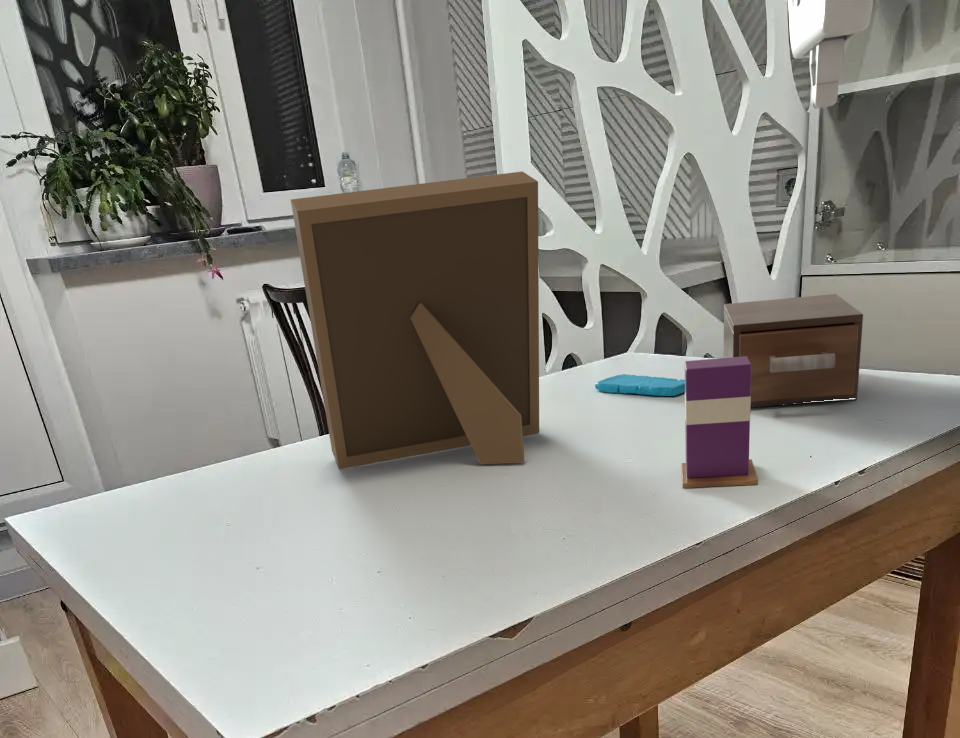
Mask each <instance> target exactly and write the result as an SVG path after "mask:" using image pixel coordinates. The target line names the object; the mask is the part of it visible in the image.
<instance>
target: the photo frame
mask: <svg viewBox="0 0 960 738" xmlns="http://www.w3.org/2000/svg"><path fill="white" fill-rule="evenodd" d="M290 204H291V210H292V217H293V223H294V229H295V235H296V241H297V248H298V253H299V259H300V260H299V261H300V266H301V271H302V277H303V283H304V291H305V296H306V302H307V308H308V314H309V321H310V326H311V332H312V339H313V344H314V350H315V357H316V363H317V368H318V375H319V380H320V386H321V394H322V398H323V407H324V411H325V417H326V424H327V430H328V435H329V443H330V446H331V452H332V455H333V458H334V460H335V463H336V466H337V469H338V470H344V469H348V468H353V467H354V468H355V467H360V466H366V465H370V464H375V463H382V462H387V461H393V460H399V459H404V458H409V457H414V456H420V455H425V454H432V453H438V452H442V451H443V452H444V451H447V450H454V449H459V448H465V447H471V449H472V450H473V452H474V454H475V456H476V459H477V460H478V463H479V465H497V464H515V463H516V464H517V463H525V450H524V437H525V436H531V435H537V434H540V307H539V306H540V296H539V295H540V293H539V280H540V279H539V278H540V275H539V271H540V270H539V269H540V268H539V181H538V180H537V179H535V178H534V177H532V176H531V175H529V174H527V173H526V172H524V171H514V172H506V173H498V174H491V175H481V176H474V177H465V178H457V179H448V180H440V181H432V182H425V183H424V182H423V183H414V184H408V185H407V184H406V185H399V186H391V187H383V188H374V189H367V190H366V189H365V190H359V191H348V192H342V193H334V194H332V193H331V194H324V195H317V196H316V195H315V196H309V197H307V196H306V197H300V198H292V199H290Z"/></svg>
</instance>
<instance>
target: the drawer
mask: <svg viewBox="0 0 960 738" xmlns="http://www.w3.org/2000/svg"><path fill="white" fill-rule="evenodd" d="M857 339H858V325H856V324H851V325H846V324H836V325H824V326H812V327H800V328H788V329H777V330H765V331H753V332H741V334H739V357H743V356H747V358H748V360H749V362H750V364H751V392H750V397H751V401H765V400H779V399H793V398H808V397H822V396H837V395H851V394H854V381H855V367H856V353H857Z"/></svg>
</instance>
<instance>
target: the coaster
mask: <svg viewBox="0 0 960 738" xmlns="http://www.w3.org/2000/svg"><path fill="white" fill-rule="evenodd" d="M680 465H681V466H680V467H681V483H682V484H681V485H682V489H693V488H712V487H731V486H732V487H733V486H752V485H758V484H759V479H758V476H757V472H756V469H755V466H754V462H753V459H751V458H749V474H748V475H738V476H720V477H702V478H687V473H686V462H682V463H681V464H680Z"/></svg>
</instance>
